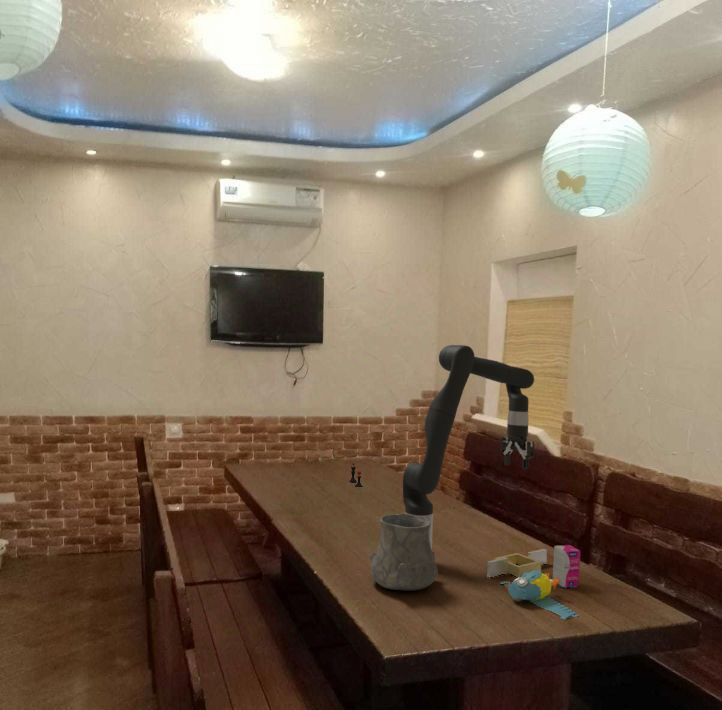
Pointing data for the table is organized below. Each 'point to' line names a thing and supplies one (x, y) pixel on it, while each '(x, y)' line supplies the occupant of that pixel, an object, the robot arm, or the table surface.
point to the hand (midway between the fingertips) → (516, 467)
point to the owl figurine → (538, 592)
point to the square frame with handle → (509, 563)
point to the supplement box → (566, 566)
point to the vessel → (404, 553)
